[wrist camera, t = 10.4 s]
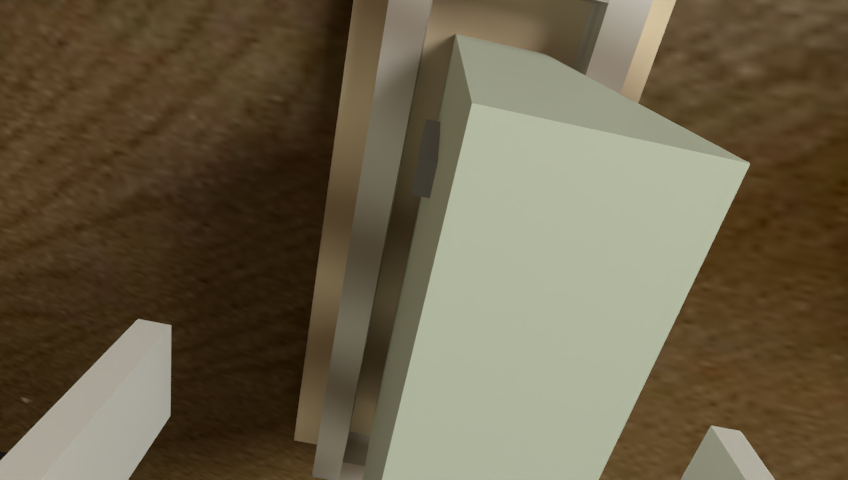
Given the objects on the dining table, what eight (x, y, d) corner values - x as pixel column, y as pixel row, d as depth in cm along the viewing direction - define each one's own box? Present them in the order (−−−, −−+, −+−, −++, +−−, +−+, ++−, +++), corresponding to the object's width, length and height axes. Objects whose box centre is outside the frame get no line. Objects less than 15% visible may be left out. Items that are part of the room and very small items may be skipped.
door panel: (440, 417, 24) (433, 823, 12) (367, 403, 24) (286, 800, 12) (544, 53, 17) (750, 162, 6) (443, 31, 17) (433, 94, 5)
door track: (496, 453, 27) (503, 511, 24) (301, 417, 26) (282, 471, 23) (665, -20, 18) (709, -24, 15) (372, -87, 17) (357, -106, 14)
